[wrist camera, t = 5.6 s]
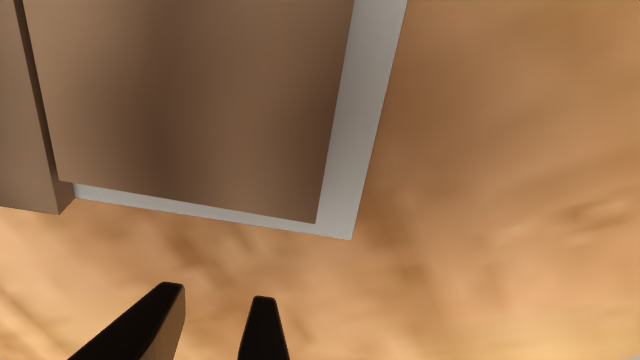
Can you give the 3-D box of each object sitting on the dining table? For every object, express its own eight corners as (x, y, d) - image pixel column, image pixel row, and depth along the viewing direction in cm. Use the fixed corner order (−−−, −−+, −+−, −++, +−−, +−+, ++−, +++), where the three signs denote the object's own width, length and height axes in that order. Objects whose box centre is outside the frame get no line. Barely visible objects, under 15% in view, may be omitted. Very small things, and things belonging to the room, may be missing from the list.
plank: (373, -113, 12) (374, -114, 11) (318, 206, 18) (315, 224, 17) (17, -174, 12) (-14, -180, 11) (76, 165, 18) (59, 180, 17)
